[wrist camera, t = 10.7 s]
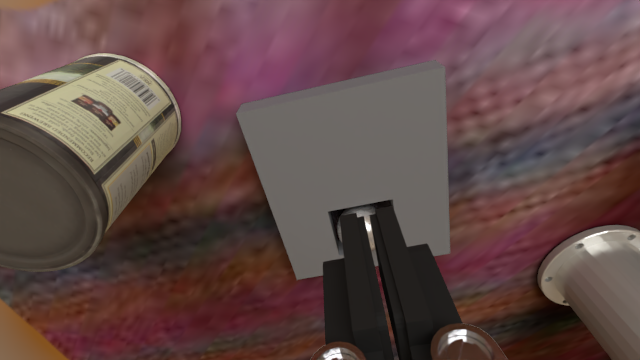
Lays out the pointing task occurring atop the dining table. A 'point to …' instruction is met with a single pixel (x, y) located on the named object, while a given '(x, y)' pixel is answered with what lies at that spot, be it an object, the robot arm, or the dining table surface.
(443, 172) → the hole board
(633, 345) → the robot arm
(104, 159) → the coffee can
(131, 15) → the dining table surface
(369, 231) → the steel ball
